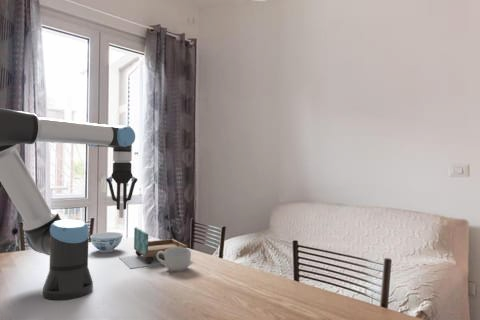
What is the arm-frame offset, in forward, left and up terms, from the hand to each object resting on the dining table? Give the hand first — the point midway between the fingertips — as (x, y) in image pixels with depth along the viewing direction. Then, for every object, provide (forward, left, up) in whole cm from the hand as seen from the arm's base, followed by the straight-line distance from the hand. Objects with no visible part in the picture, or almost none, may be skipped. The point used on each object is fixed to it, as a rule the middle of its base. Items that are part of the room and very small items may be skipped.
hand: (121, 217), depth 149 cm
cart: (+2, -18, -20) cm, 28 cm away
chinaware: (+28, 0, -21) cm, 35 cm away
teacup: (-17, -17, -21) cm, 32 cm away
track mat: (+2, -15, -20) cm, 26 cm away
